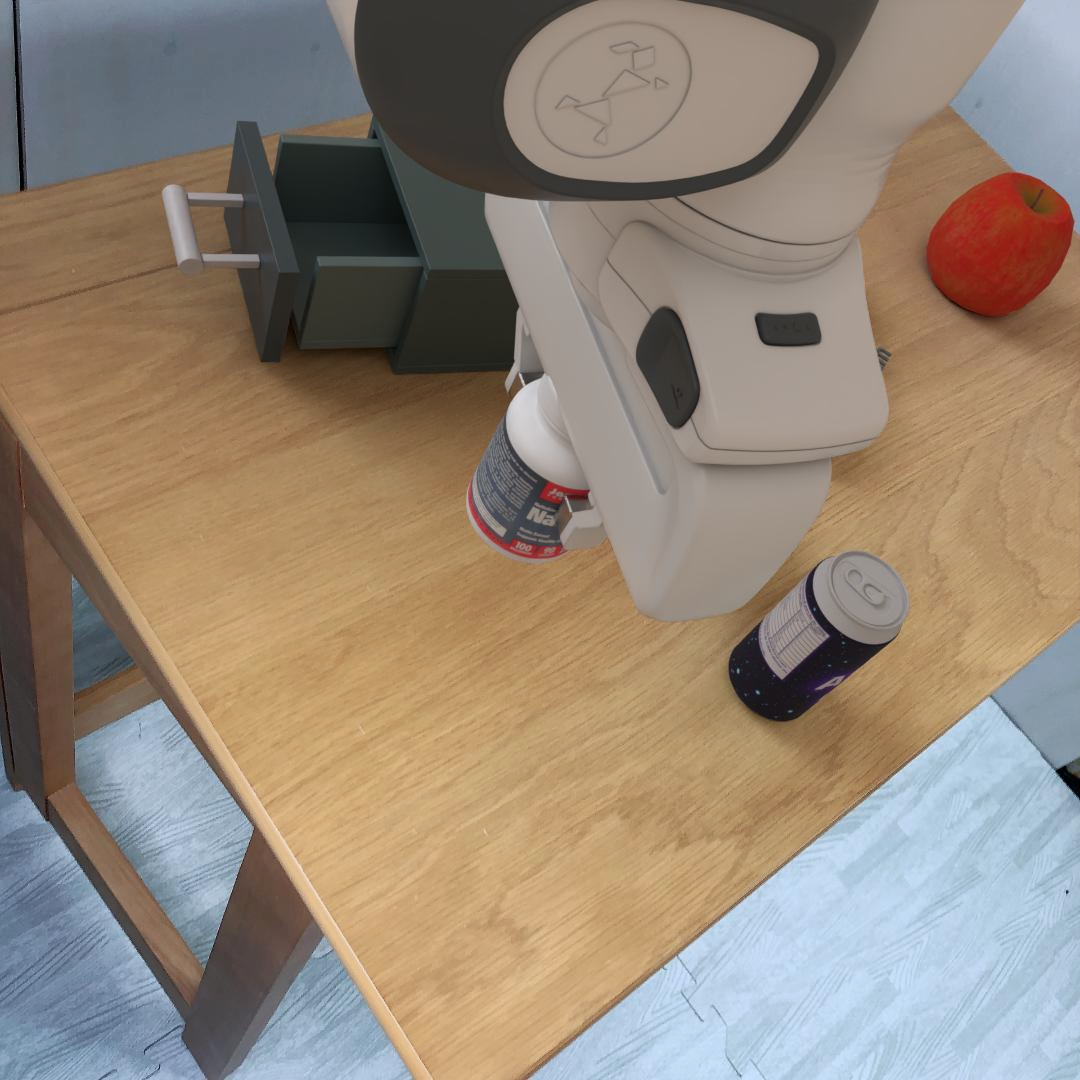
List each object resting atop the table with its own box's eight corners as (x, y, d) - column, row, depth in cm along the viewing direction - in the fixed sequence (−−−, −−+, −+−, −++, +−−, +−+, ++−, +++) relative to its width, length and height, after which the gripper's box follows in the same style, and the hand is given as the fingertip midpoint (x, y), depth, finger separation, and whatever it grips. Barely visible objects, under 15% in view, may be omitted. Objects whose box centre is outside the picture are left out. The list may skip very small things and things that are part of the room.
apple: (1010, 260, 106) (1090, 170, 98) (1028, 344, 100) (1116, 256, 92) (907, 223, 104) (981, 128, 96) (919, 307, 98) (1000, 213, 89)
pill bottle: (498, 581, 47) (573, 454, 41) (443, 480, 49) (506, 342, 42) (601, 549, 50) (688, 425, 43) (545, 454, 52) (620, 321, 45)
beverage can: (773, 746, 69) (885, 655, 59) (704, 678, 70) (803, 578, 60) (820, 691, 72) (933, 597, 63) (753, 627, 73) (855, 525, 64)
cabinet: (393, 375, 75) (430, 269, 67) (344, 222, 81) (373, 110, 73) (591, 367, 81) (645, 270, 73) (532, 226, 87) (577, 123, 79)
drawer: (181, 365, 68) (192, 272, 62) (148, 215, 74) (155, 115, 68) (465, 356, 76) (500, 272, 70) (416, 220, 82) (445, 132, 76)
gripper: (510, -13, 39) (412, 275, 50) (734, 482, 30) (556, 703, 41) (667, 8, 42) (542, 277, 53) (917, 467, 33) (704, 678, 44)
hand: (549, 466), depth 47 cm, fingers closed on pill bottle, 5 cm apart
